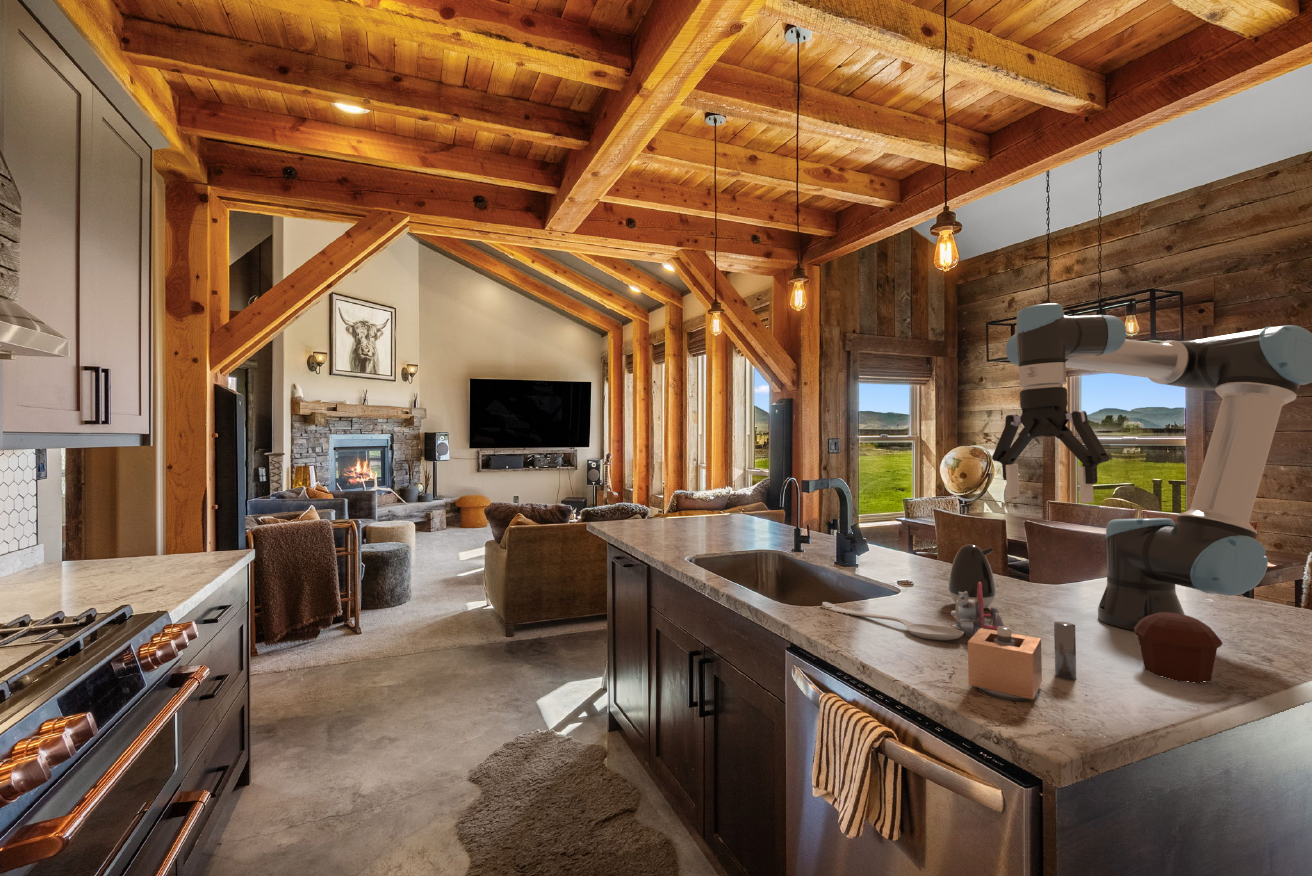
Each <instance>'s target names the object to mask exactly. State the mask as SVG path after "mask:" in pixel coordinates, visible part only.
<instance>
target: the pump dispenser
mask: <svg viewBox="0 0 1312 876" xmlns="http://www.w3.org/2000/svg"><path fill="white" fill-rule="evenodd" d="M992 552H994V549H993V547H988V548H984V549H981V548H980V547H979V546H977V545H976V544H972V543H971V544H964V545H962V546H961V547H960V548H959V550H958V551H957V553H956V554H955V557H954V558H953V562H952V564H951V568H950V572H949V578H948V591H949V593H950V596H951V598H952V600H953V601H954V603H955V602H956V600H958V599H957V597H958V595H959V594H958V592H965V591H967V592H968V600H976V599H977V588H978V583H979V582H981V583H982V593H983V610H984V609H987V608H988V607H990V606H991V604H992V603H993V601H994V598H995V596H996V593H997V590H996V589H997V587H996V581H995V578H994V573H993V571H992V567H991V564H990V563H989V560H988V558H987V555H989V554H991V553H992Z"/></svg>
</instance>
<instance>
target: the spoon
mask: <svg viewBox="0 0 1312 876" xmlns="http://www.w3.org/2000/svg"><path fill="white" fill-rule="evenodd" d="M835 606H837V605H835V604H833V603H831V602H828V601H822V603H821V607H822V609H824V608H825V607H832V608H826V609H831V610H833V611H835V612H834V613H837V612H841V613H840V614H843V613H845V614H844V615H849V614H850V616H857V617H861V618H871V619H879V620H886V621H894V622H896V623H897V622H898V623H900V624H902V625H904V627H906V630H907V631H908V632H909V633H910V634H911V635H914V636H915V637H918V638H921V639H925V640H930V641H931V640H932V641H952V640H957V639H959V638H961V637H962V636H964V634H965V633H964V632H963V631H962V629H959V628H955V627H948V626H942V625H933V624H926V623H924V624H923V623H913V622H911V621H909V620H906V619H903V618H900V617H896V616H889V615H884V614H883V615H882V614H876V613H868V612H863V611H857V610H852V609H848V608H844V607H840V606H838V607H835ZM826 609H825V610H826ZM833 611H832V612H833Z"/></svg>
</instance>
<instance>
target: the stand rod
mask: <svg viewBox="0 0 1312 876" xmlns="http://www.w3.org/2000/svg"><path fill="white" fill-rule="evenodd" d="M1053 629H1054V631H1053V633H1054V635H1053V637H1054V638H1053V639H1054V643H1053V644H1054V675H1055V677H1056V678H1059V679H1062V680H1066V681H1075V680H1077V650H1076V649H1077V647H1076V646H1077V644H1076V643H1077V642H1076V639H1077V638H1076V624H1074V623H1071V622H1066V621H1054V624H1053Z"/></svg>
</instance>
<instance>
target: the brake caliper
mask: <svg viewBox="0 0 1312 876" xmlns="http://www.w3.org/2000/svg"><path fill="white" fill-rule="evenodd" d="M958 594H959V595H958V597H957V599H958V600H956V602H955V601H954V607H955V610H951V611H950V615H951V616H952V617H953V618H954V619H956V623H955V624H953V625H951V627H952V628H958V629H960V630H961V631H963V632H964V634H965V635H966V637H968V639H971V638H972V637H973V636H974V634H975V633H976V632H977V631H978V630H979V629H980V628H983V629H989V630H995V631H997V627H999V626H1004V627H1005V624H1004V623H1003V620H1002V616H1001V615H1000V613H999V610H998V608H997V607H995V606H992V607H991V608H990V614H989V613H988V614H987V613H985V612H984V611H985V610H984V609H983V593H982V583H981V582H979V583H978V588H977V599H976V600H968V592H967V591H965V592H958Z"/></svg>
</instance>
